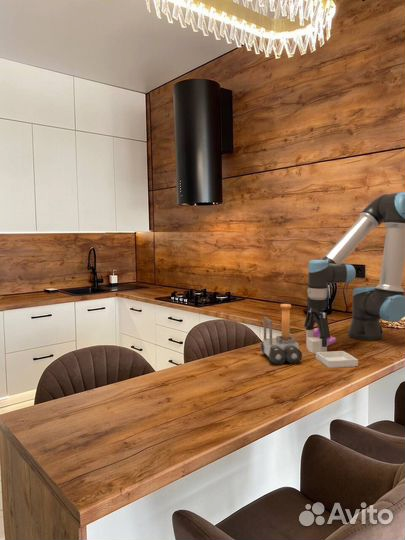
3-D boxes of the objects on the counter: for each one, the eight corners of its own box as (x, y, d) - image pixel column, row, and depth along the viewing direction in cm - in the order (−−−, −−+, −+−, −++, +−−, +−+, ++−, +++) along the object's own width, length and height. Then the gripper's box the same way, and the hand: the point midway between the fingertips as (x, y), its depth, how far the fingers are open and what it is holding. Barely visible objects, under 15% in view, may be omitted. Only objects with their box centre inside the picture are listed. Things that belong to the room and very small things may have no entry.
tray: (343, 357, 160) (343, 350, 160) (357, 366, 149) (358, 359, 149) (315, 358, 159) (315, 352, 159) (328, 368, 148) (328, 361, 148)
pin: (288, 339, 161) (289, 303, 160) (292, 342, 157) (292, 305, 156) (278, 339, 160) (279, 304, 159) (282, 342, 156) (282, 305, 155)
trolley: (289, 352, 167) (289, 314, 165) (302, 363, 153) (302, 321, 151) (260, 354, 165) (260, 315, 164) (270, 365, 151) (270, 323, 150)
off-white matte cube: (320, 348, 173) (320, 337, 172) (326, 352, 167) (326, 340, 166) (306, 349, 172) (307, 337, 171) (312, 353, 166) (312, 341, 165)
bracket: (325, 347, 175) (325, 331, 174) (313, 344, 179) (313, 329, 178) (337, 340, 185) (338, 325, 184) (325, 338, 188) (326, 323, 188)
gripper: (297, 293, 179) (296, 341, 181) (321, 303, 154) (319, 359, 156) (313, 293, 180) (312, 341, 182) (340, 303, 155) (338, 358, 157)
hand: (316, 349), depth 169 cm, fingers open, 13 cm apart
